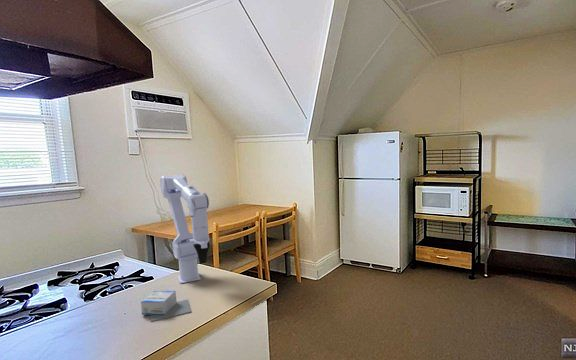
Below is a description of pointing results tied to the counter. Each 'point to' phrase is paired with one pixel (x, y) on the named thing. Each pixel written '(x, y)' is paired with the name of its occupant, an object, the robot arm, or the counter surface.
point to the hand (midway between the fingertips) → (203, 262)
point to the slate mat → (173, 311)
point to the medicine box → (158, 302)
